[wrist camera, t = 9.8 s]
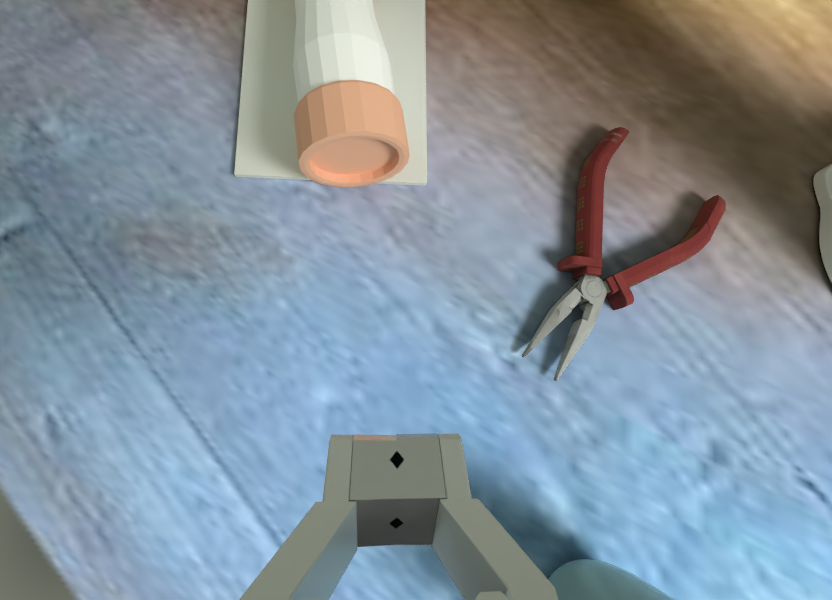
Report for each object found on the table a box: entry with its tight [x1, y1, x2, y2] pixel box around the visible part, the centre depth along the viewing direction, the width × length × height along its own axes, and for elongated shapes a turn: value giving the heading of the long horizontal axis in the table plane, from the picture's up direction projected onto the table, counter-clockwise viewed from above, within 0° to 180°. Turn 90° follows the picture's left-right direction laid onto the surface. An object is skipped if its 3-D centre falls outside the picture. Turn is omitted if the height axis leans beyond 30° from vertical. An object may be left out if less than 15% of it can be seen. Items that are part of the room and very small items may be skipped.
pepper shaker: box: [293, 0, 410, 187], centre depth 31 cm, size 7×7×19 cm
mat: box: [234, 0, 427, 186], centre depth 35 cm, size 20×14×1 cm
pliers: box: [522, 127, 726, 381], centre depth 34 cm, size 12×20×3 cm, turn 144°
